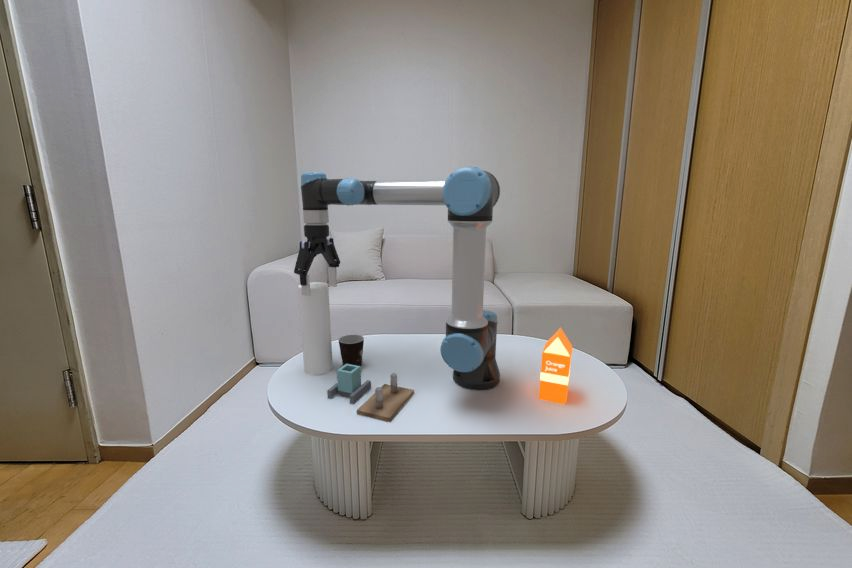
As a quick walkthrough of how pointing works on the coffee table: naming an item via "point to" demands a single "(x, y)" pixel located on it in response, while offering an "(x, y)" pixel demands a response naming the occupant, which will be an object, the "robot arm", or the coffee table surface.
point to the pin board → (386, 401)
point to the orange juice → (555, 368)
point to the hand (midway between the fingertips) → (320, 290)
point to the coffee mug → (351, 349)
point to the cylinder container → (316, 329)
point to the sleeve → (348, 379)
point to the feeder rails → (355, 395)
